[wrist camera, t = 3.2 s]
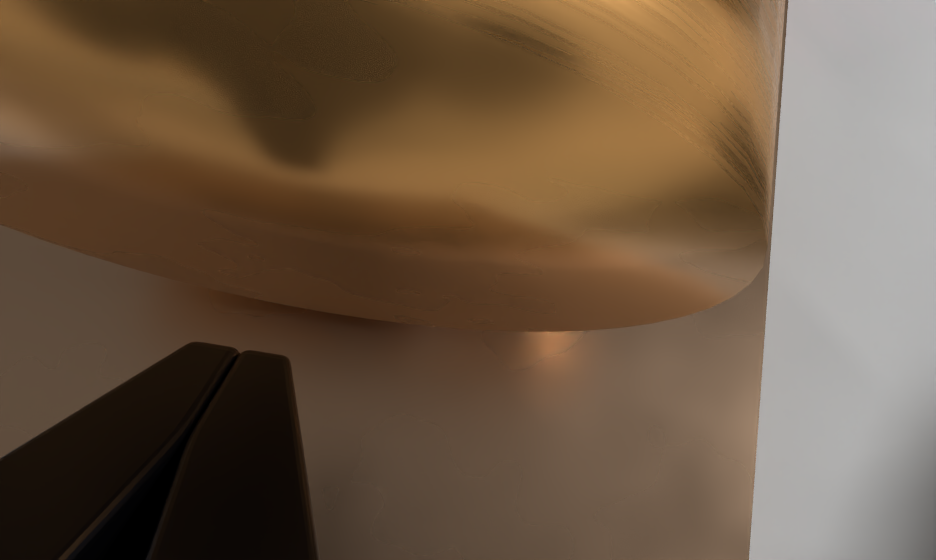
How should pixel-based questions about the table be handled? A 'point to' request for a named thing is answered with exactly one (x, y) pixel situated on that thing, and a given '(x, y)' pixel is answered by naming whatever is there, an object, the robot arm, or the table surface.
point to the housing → (435, 410)
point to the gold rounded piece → (403, 151)
